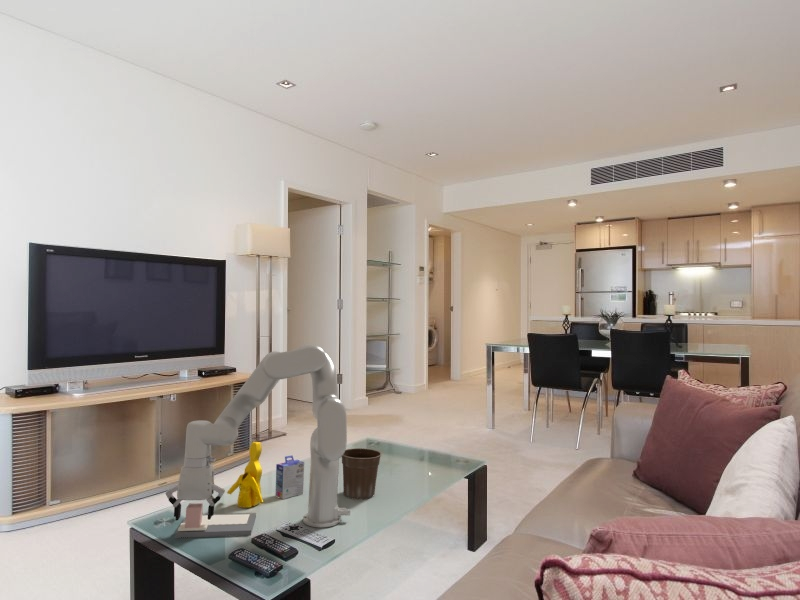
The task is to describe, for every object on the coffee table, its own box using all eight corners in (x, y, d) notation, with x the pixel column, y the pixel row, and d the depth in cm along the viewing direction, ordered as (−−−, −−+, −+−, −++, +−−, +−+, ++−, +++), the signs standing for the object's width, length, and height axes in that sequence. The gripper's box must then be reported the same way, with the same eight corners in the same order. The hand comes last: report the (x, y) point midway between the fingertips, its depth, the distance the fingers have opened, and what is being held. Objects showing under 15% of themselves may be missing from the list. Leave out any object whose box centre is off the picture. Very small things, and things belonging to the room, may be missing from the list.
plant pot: (353, 485, 203) (355, 445, 204) (387, 492, 195) (389, 451, 196) (330, 496, 189) (332, 453, 190) (365, 504, 181) (367, 460, 182)
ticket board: (255, 517, 165) (256, 512, 165) (250, 535, 151) (251, 529, 151) (186, 519, 161) (187, 514, 161) (175, 537, 147) (175, 532, 147)
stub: (208, 524, 153) (209, 502, 154) (205, 530, 149) (207, 507, 150) (181, 525, 152) (182, 503, 152) (177, 531, 148) (179, 508, 148)
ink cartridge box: (295, 490, 194) (297, 453, 195) (303, 494, 190) (305, 456, 191) (274, 495, 187) (276, 457, 187) (282, 499, 183) (284, 460, 184)
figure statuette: (222, 503, 177) (226, 441, 178) (239, 497, 184) (242, 437, 185) (257, 514, 168) (261, 449, 169) (274, 507, 175) (277, 445, 176)
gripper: (228, 458, 157) (225, 513, 156) (171, 458, 154) (167, 514, 153) (224, 464, 150) (221, 522, 149) (164, 465, 147) (160, 524, 146)
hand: (193, 518), depth 151 cm, fingers open, 9 cm apart
